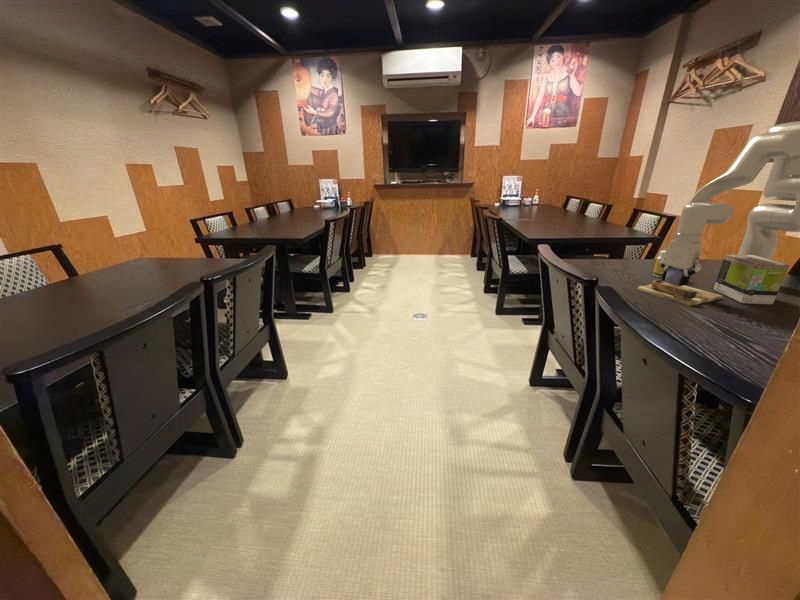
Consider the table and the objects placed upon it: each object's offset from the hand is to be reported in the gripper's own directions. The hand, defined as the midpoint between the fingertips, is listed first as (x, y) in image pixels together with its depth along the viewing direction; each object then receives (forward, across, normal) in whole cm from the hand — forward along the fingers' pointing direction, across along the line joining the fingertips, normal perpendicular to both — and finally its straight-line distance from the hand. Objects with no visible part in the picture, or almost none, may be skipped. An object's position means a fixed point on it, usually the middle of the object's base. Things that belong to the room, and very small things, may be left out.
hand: (674, 282), depth 129 cm
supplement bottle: (+3, -14, +14) cm, 20 cm away
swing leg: (+1, +5, -8) cm, 10 cm away
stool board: (+3, +4, -3) cm, 6 cm away
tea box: (+3, +15, +14) cm, 21 cm away
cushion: (+1, 0, 0) cm, 1 cm away
